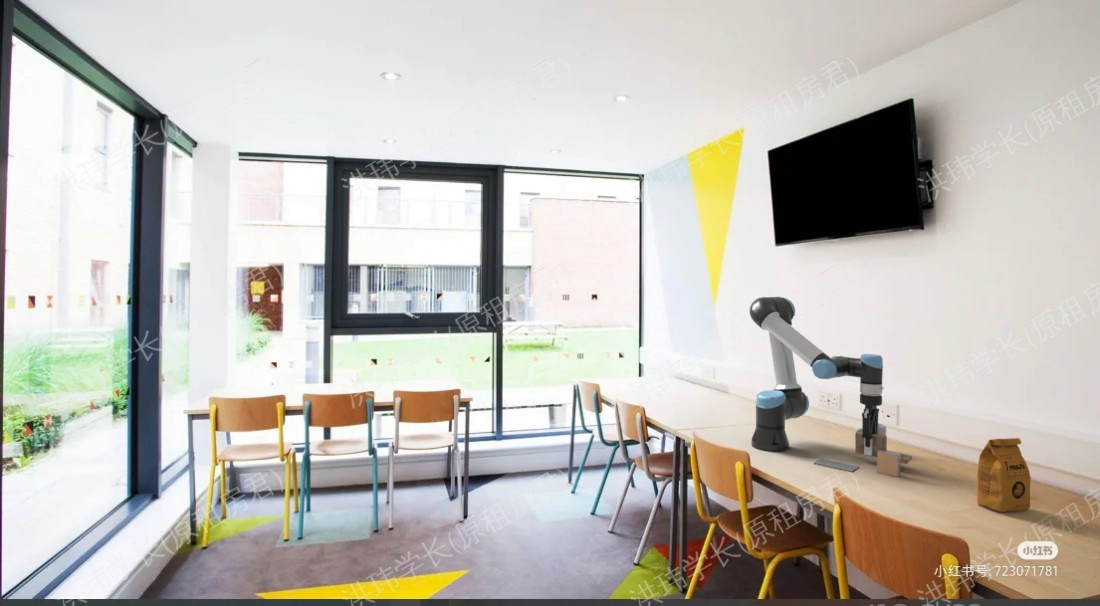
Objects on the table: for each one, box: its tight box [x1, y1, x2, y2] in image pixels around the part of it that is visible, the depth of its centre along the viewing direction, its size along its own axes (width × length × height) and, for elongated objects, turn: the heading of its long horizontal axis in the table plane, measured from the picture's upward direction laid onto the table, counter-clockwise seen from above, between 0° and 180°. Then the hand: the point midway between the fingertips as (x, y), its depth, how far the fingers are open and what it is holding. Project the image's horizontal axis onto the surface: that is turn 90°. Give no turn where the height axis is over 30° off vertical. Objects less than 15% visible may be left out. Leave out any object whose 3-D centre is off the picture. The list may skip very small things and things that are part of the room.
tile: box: [876, 450, 902, 478], centre depth 207 cm, size 7×3×8 cm, turn 45°
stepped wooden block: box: [854, 432, 913, 465], centre depth 217 cm, size 18×7×8 cm, turn 45°
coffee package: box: [976, 437, 1032, 513], centre depth 175 cm, size 10×12×22 cm
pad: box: [813, 458, 860, 473], centre depth 217 cm, size 14×8×1 cm, turn 45°
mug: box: [854, 422, 887, 440], centre depth 236 cm, size 12×8×11 cm
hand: (869, 453), depth 220 cm, fingers closed on stepped wooden block, 3 cm apart
